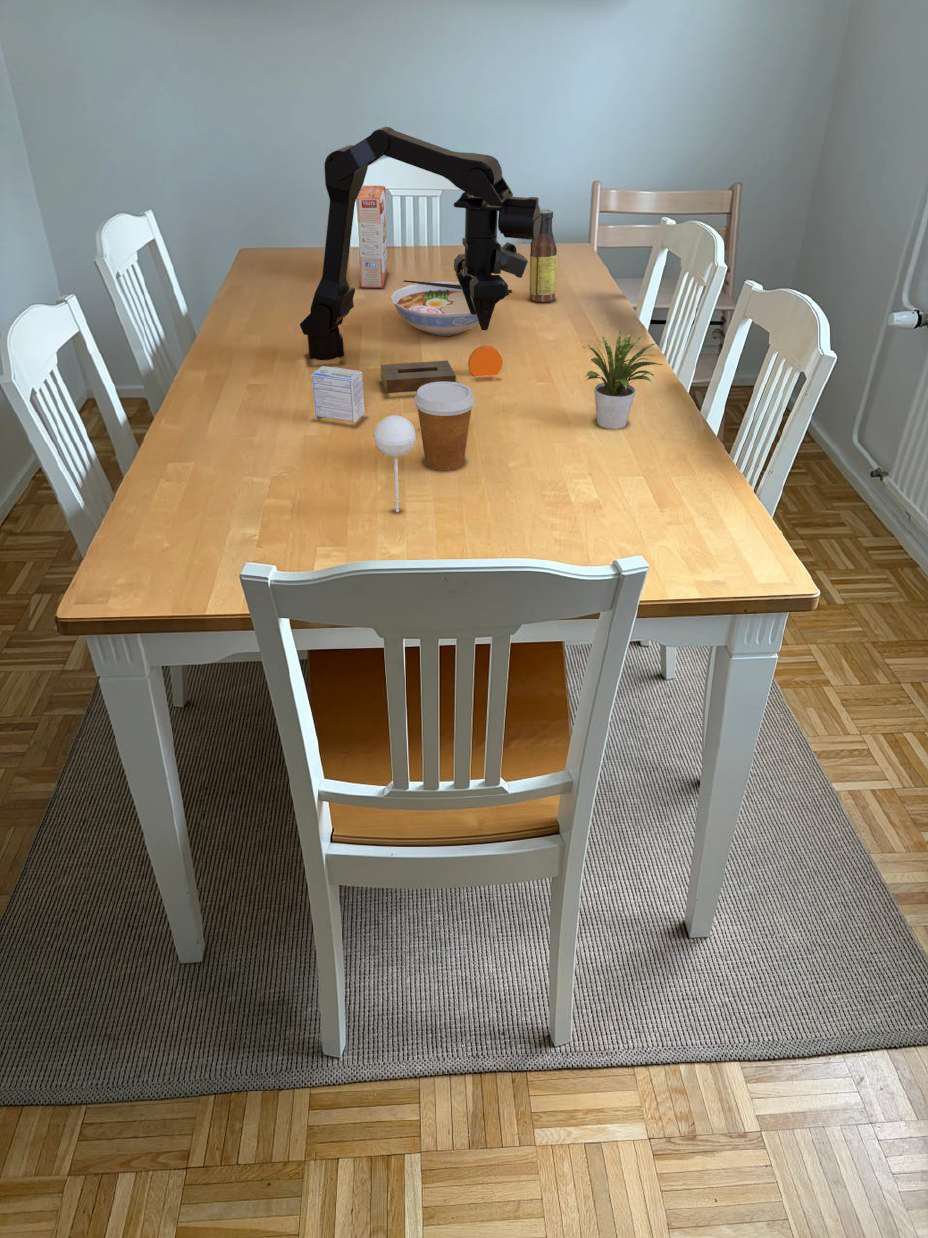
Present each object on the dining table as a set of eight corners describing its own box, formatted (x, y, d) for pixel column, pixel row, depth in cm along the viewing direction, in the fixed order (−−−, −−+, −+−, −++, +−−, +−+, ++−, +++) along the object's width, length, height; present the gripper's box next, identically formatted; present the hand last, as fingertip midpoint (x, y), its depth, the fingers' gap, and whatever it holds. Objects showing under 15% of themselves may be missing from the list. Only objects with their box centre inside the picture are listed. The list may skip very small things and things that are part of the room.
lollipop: (377, 501, 144) (373, 408, 135) (416, 500, 144) (414, 407, 136) (377, 522, 139) (373, 426, 130) (418, 520, 139) (416, 425, 131)
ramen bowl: (369, 339, 203) (367, 300, 198) (413, 308, 220) (413, 272, 215) (478, 355, 195) (479, 316, 190) (515, 322, 212) (517, 285, 208)
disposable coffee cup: (453, 480, 150) (453, 408, 143) (403, 465, 154) (401, 394, 147) (484, 458, 156) (486, 388, 150) (436, 444, 161) (435, 375, 154)
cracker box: (384, 288, 232) (381, 196, 220) (359, 288, 232) (355, 196, 220) (389, 272, 243) (386, 184, 231) (365, 272, 243) (361, 184, 231)
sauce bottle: (559, 298, 227) (565, 209, 216) (547, 305, 223) (552, 215, 211) (535, 293, 230) (540, 206, 218) (523, 300, 226) (526, 211, 214)
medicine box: (365, 417, 169) (363, 370, 164) (355, 427, 166) (352, 379, 161) (325, 411, 171) (321, 364, 166) (314, 420, 168) (310, 373, 163)
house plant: (595, 448, 160) (605, 353, 151) (552, 417, 170) (558, 327, 160) (664, 432, 165) (677, 340, 156) (618, 404, 175) (628, 315, 166)
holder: (387, 398, 177) (386, 380, 175) (381, 382, 183) (380, 364, 181) (455, 393, 179) (455, 375, 177) (447, 377, 185) (447, 360, 183)
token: (466, 378, 183) (472, 345, 180) (465, 376, 184) (471, 343, 181) (498, 381, 185) (505, 349, 182) (497, 379, 186) (503, 346, 182)
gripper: (538, 246, 164) (533, 336, 173) (512, 220, 178) (508, 304, 187) (475, 249, 162) (473, 339, 171) (453, 222, 176) (453, 307, 185)
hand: (478, 321), depth 179 cm, fingers open, 9 cm apart
